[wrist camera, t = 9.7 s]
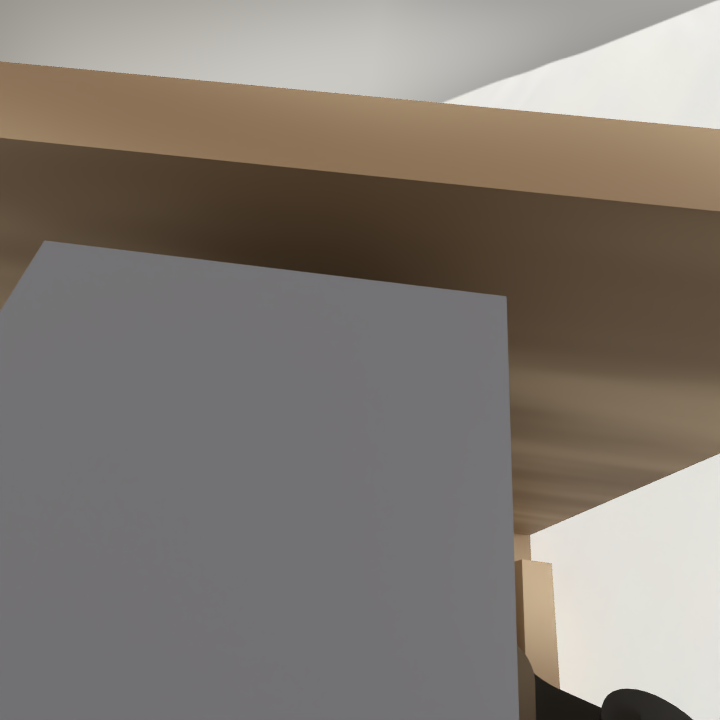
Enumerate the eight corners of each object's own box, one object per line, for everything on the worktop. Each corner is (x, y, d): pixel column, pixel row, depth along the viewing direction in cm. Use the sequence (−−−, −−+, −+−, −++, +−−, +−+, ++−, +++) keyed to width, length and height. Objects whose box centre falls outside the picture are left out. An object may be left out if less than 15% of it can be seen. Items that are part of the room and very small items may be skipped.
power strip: (367, 728, 13) (545, 1669, 1) (225, 705, 13) (-671, 1380, 2) (386, 535, 15) (506, 296, 4) (267, 517, 15) (44, 240, 4)
